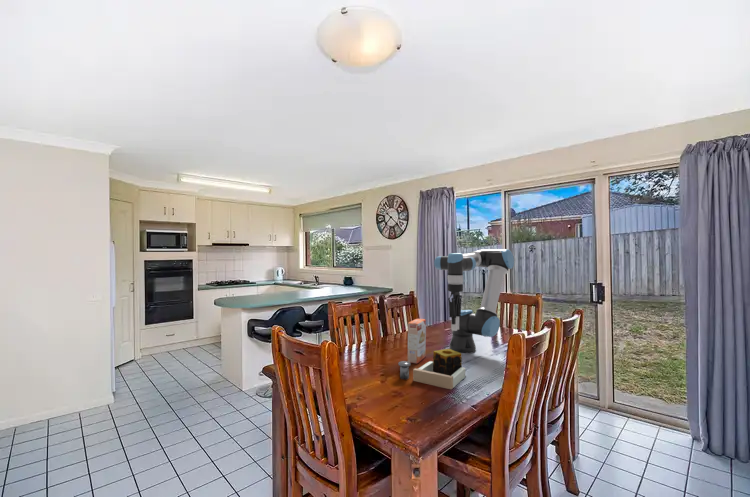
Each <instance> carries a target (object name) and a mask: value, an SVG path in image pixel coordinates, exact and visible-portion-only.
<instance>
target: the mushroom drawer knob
mask: <svg viewBox="0 0 750 497" xmlns="http://www.w3.org/2000/svg"><path fill="white" fill-rule="evenodd" d="M411 364H412V363H410V362H408V360H407V361H406V360H401V361H398V366H399V371H400V372H399V377H400V379H401V380H408V379H409V378H410V367H411Z"/></svg>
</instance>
